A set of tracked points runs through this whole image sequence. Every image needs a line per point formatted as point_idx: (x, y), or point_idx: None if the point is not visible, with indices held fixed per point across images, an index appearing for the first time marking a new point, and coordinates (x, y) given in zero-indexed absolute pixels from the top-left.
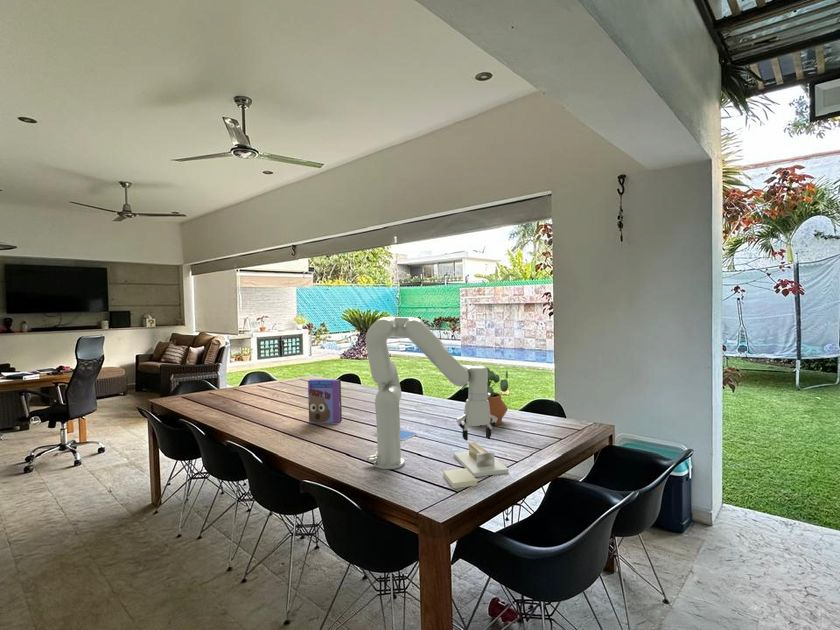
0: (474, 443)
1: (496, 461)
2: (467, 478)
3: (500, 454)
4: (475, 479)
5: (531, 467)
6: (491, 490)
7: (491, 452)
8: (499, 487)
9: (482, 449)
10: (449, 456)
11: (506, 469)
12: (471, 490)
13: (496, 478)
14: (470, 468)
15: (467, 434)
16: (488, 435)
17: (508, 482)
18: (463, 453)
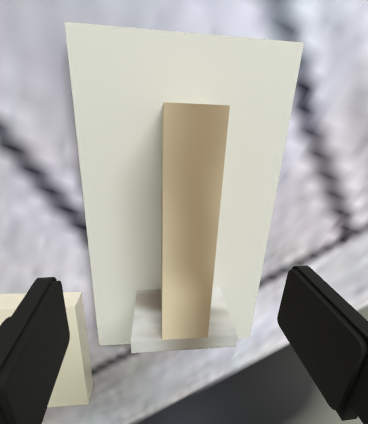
0: (204, 143)
1: (252, 258)
2: (55, 389)
3: (352, 115)
4: (84, 399)
5: (350, 300)
6: (125, 416)
7: (223, 339)
8: (157, 404)
9: (198, 286)
10: (41, 20)
11: (241, 337)
12: (62, 409)
13: (179, 354)
14: (100, 302)
15: (44, 404)
16: (294, 348)
17: (201, 383)
18: (132, 71)
